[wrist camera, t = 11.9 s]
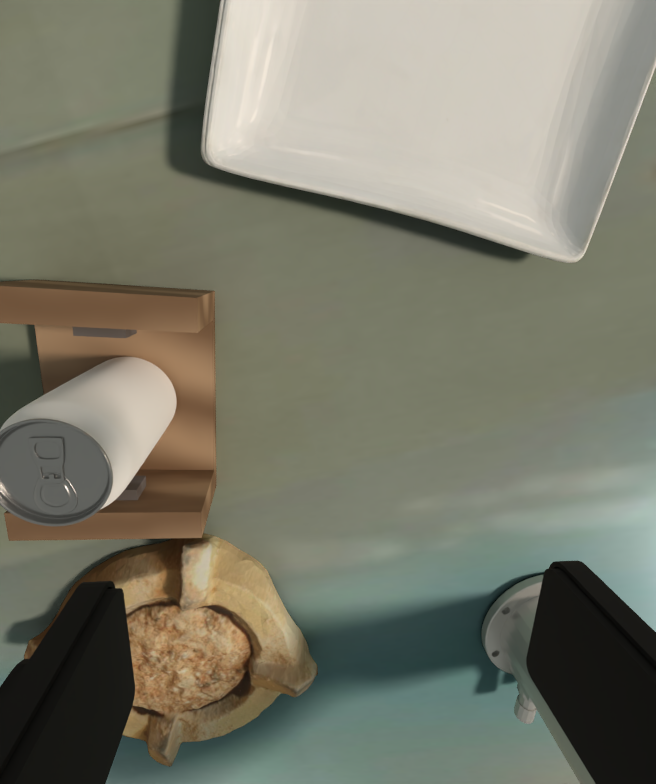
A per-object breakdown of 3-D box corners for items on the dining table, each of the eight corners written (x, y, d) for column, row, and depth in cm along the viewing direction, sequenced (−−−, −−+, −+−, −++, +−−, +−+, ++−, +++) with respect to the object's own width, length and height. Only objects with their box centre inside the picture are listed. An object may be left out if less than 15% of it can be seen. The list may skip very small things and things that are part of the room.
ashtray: (289, 503, 36) (291, 539, 32) (324, 696, 44) (330, 748, 39) (10, 554, 35) (-33, 599, 30) (95, 745, 42) (72, 807, 37)
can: (92, 437, 31) (-14, 536, 20) (81, 353, 29) (-43, 409, 18) (180, 437, 32) (128, 532, 21) (175, 355, 30) (114, 410, 19)
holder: (216, 485, 35) (201, 537, 28) (63, 485, 33) (9, 540, 26) (214, 291, 30) (196, 298, 23) (36, 279, 28) (-37, 283, 22)
